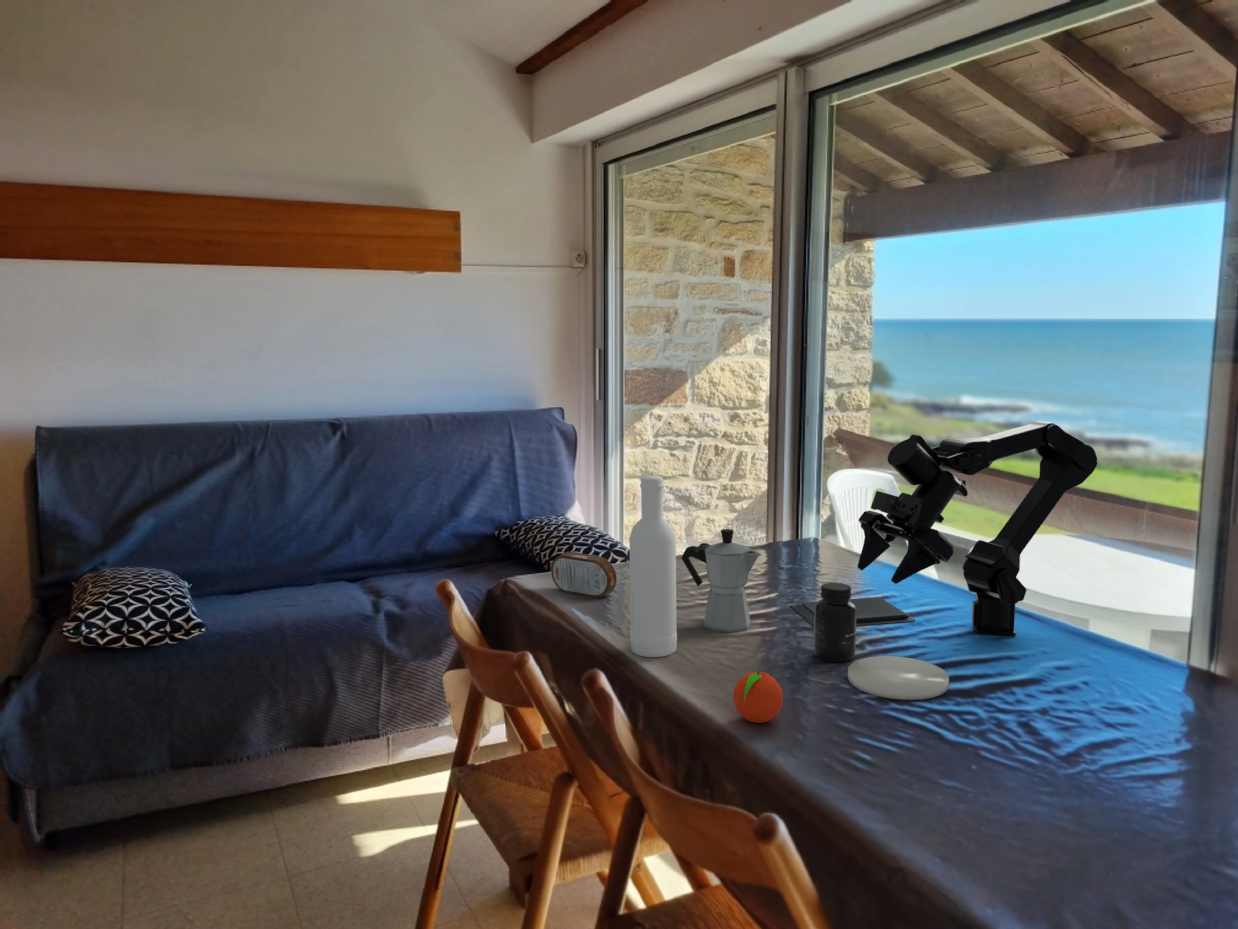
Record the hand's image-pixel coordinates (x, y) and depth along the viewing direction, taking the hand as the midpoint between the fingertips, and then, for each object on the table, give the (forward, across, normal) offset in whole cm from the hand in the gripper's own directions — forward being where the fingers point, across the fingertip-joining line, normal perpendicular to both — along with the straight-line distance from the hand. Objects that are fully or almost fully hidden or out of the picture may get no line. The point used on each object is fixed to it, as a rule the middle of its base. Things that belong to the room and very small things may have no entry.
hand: (875, 575), depth 158 cm
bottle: (+32, -15, -17) cm, 40 cm away
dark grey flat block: (+5, -18, +15) cm, 24 cm away
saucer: (+13, +13, +5) cm, 19 cm away
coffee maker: (+21, -22, -4) cm, 31 cm away
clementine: (+32, +18, -16) cm, 39 cm away
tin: (+32, -52, -17) cm, 63 cm away
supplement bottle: (+15, 0, +3) cm, 15 cm away
